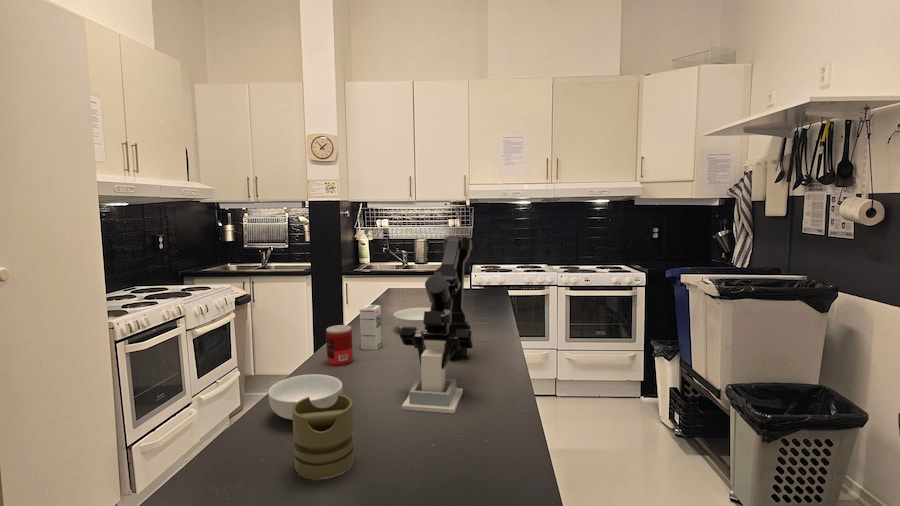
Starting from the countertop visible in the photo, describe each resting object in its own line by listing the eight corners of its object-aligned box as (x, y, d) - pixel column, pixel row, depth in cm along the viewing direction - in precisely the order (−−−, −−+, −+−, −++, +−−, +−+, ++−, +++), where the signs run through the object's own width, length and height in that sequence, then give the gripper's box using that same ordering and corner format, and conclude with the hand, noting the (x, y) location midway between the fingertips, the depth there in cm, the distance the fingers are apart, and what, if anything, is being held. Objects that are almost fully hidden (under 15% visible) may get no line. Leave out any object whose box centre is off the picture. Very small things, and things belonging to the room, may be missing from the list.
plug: (426, 386, 127) (425, 349, 126) (445, 387, 126) (444, 350, 125) (421, 394, 123) (420, 355, 121) (441, 395, 122) (440, 356, 120)
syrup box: (377, 350, 166) (375, 308, 164) (360, 349, 167) (359, 308, 165) (382, 345, 171) (381, 304, 169) (366, 344, 172) (365, 304, 171)
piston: (295, 396, 99) (352, 391, 101) (298, 452, 100) (354, 446, 103) (289, 421, 88) (353, 414, 90) (292, 484, 89) (355, 476, 92)
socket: (415, 388, 132) (415, 374, 132) (462, 392, 130) (462, 377, 129) (402, 409, 120) (401, 393, 119) (454, 413, 117) (454, 397, 117)
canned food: (357, 359, 157) (356, 325, 156) (344, 367, 150) (342, 332, 148) (336, 356, 160) (335, 324, 158) (322, 364, 152) (321, 330, 151)
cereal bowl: (275, 437, 106) (273, 406, 106) (265, 408, 121) (263, 381, 120) (351, 420, 114) (350, 391, 113) (333, 395, 129) (332, 369, 128)
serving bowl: (457, 327, 193) (457, 310, 193) (427, 341, 176) (427, 322, 175) (414, 321, 204) (414, 304, 204) (382, 333, 187) (382, 315, 186)
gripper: (400, 296, 127) (388, 351, 118) (471, 298, 124) (465, 354, 114) (409, 318, 136) (398, 370, 126) (475, 320, 132) (470, 375, 123)
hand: (432, 367), depth 122 cm, fingers closed on plug, 5 cm apart
